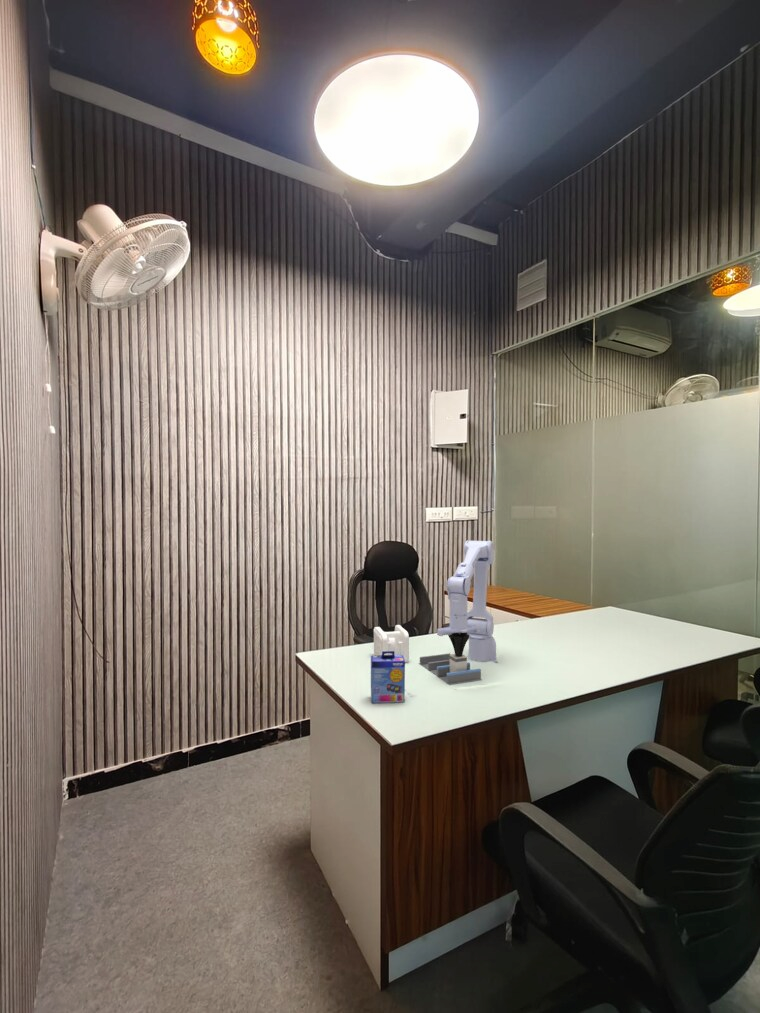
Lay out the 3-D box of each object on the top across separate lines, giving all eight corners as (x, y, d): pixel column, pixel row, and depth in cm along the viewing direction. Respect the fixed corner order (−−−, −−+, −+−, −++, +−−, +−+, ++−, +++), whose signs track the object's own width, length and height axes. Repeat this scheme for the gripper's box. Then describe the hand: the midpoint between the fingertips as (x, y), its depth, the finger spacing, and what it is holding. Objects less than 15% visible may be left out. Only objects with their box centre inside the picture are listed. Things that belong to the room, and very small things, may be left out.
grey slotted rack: (448, 662, 165) (448, 650, 166) (482, 683, 145) (482, 670, 145) (418, 666, 161) (418, 654, 161) (449, 688, 141) (449, 674, 141)
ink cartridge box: (371, 704, 129) (371, 652, 129) (370, 696, 135) (370, 647, 135) (405, 702, 130) (405, 651, 130) (403, 695, 135) (403, 646, 136)
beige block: (460, 674, 150) (460, 653, 150) (466, 678, 146) (466, 656, 146) (449, 675, 149) (449, 654, 149) (455, 680, 145) (455, 658, 145)
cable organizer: (410, 666, 161) (410, 633, 161) (381, 668, 159) (381, 635, 159) (398, 653, 176) (398, 623, 176) (372, 655, 173) (372, 625, 173)
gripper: (444, 618, 141) (444, 662, 141) (484, 614, 146) (484, 657, 146) (434, 613, 148) (434, 655, 147) (472, 610, 153) (472, 651, 153)
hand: (458, 656), depth 147 cm, fingers closed, pressing on beige block
